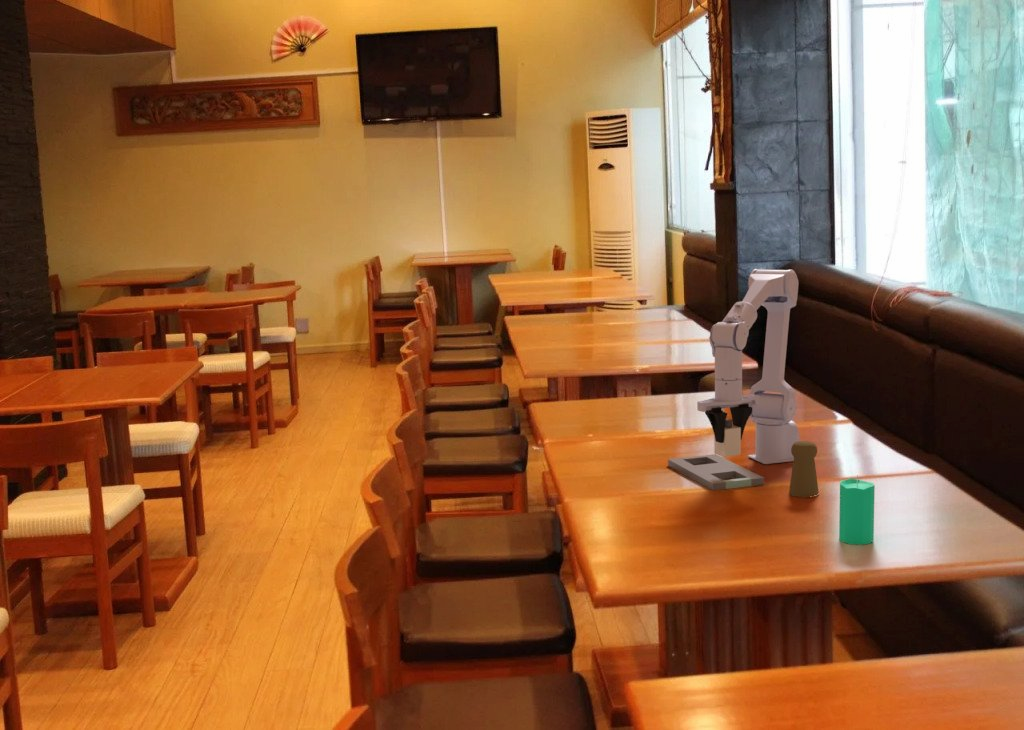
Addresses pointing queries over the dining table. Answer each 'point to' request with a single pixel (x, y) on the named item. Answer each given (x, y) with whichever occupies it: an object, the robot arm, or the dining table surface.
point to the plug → (729, 441)
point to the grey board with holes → (715, 472)
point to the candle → (856, 511)
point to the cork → (804, 470)
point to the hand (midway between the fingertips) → (728, 440)
